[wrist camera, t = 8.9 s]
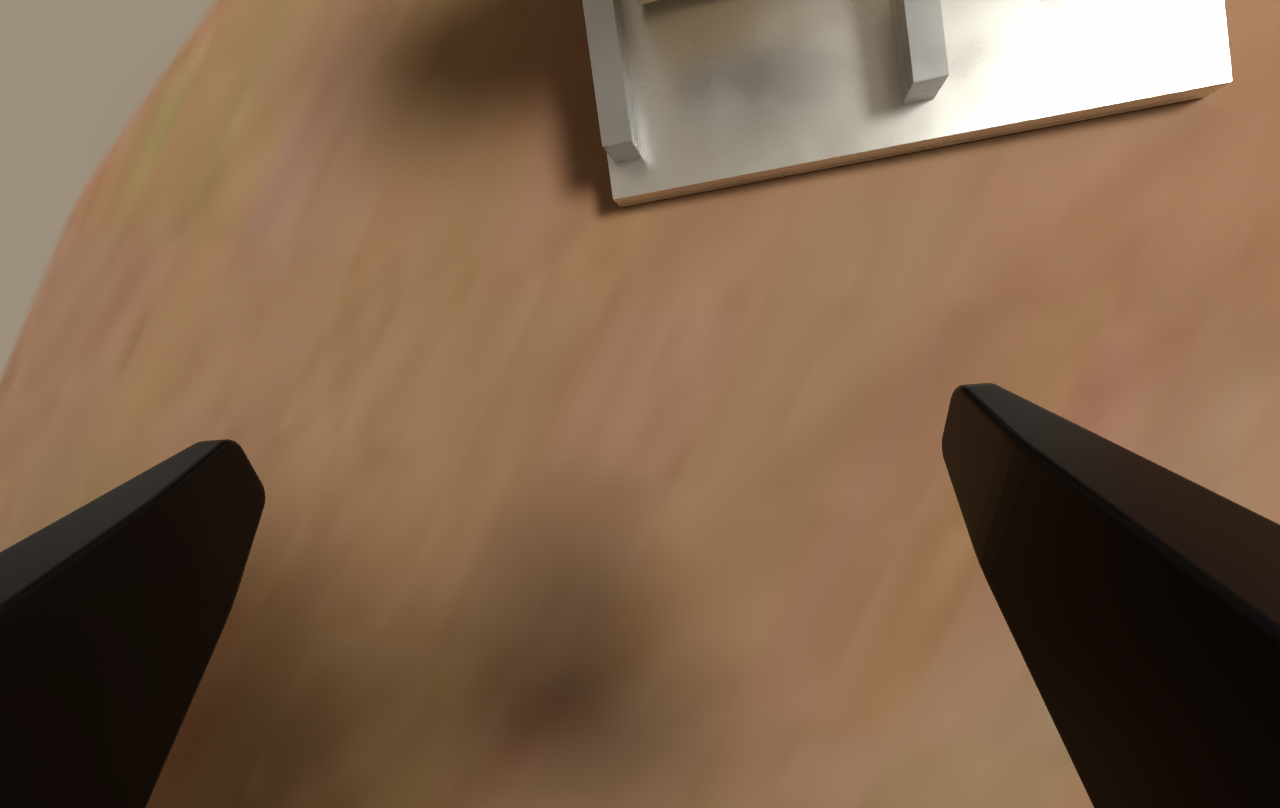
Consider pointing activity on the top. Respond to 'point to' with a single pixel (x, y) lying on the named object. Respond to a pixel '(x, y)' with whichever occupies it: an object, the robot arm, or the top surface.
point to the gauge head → (644, 1)
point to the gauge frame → (871, 78)
